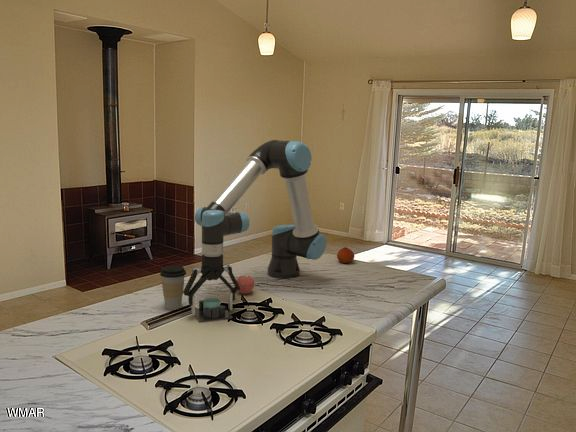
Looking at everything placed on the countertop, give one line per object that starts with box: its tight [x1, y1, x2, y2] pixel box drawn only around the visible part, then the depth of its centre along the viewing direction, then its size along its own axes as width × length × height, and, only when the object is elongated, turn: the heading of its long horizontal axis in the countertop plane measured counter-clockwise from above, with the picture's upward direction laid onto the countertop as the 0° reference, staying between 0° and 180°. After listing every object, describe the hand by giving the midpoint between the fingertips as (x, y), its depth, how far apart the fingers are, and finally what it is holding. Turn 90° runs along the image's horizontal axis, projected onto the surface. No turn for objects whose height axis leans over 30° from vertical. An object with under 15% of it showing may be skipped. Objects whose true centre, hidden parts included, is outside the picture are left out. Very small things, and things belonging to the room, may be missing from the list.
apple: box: [236, 274, 255, 295], centre depth 195 cm, size 7×7×8 cm
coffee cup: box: [159, 265, 187, 311], centre depth 177 cm, size 9×9×15 cm
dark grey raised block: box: [193, 299, 233, 324], centre depth 173 cm, size 12×12×4 cm
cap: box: [202, 296, 221, 314], centre depth 172 cm, size 6×6×5 cm
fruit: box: [336, 247, 355, 264], centre depth 246 cm, size 9×9×8 cm
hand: (212, 311), depth 173 cm, fingers open, 13 cm apart
